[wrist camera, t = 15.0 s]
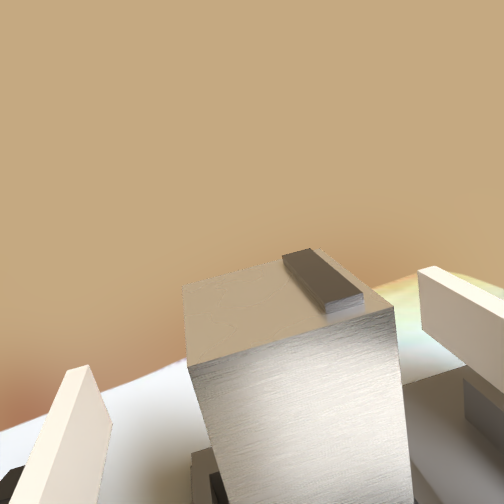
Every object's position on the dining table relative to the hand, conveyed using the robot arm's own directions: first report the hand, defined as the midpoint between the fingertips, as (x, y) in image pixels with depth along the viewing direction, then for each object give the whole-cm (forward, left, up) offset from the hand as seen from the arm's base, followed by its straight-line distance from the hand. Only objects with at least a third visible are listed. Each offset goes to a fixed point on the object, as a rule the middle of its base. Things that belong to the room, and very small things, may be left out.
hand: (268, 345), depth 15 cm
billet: (0, -3, -9) cm, 9 cm away
